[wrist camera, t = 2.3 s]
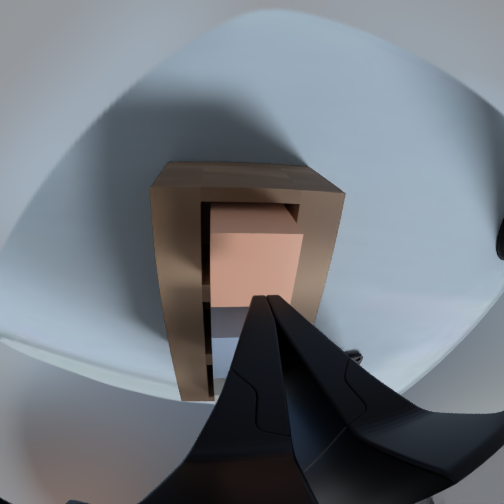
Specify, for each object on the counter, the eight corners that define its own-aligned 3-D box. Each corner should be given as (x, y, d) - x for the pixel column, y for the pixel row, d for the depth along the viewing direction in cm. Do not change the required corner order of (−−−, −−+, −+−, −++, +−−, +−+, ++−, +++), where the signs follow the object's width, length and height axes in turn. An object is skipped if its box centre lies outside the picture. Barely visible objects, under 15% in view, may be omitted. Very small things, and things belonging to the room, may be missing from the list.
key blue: (263, 326, 17) (274, 375, 14) (211, 328, 16) (213, 378, 13) (268, 285, 15) (283, 335, 12) (210, 286, 15) (211, 338, 12)
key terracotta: (272, 257, 14) (290, 304, 11) (210, 257, 14) (210, 307, 11) (279, 198, 13) (303, 234, 10) (210, 196, 12) (210, 233, 9)
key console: (277, 347, 23) (290, 395, 19) (183, 350, 22) (181, 400, 17) (309, 166, 16) (345, 193, 11) (168, 161, 14) (149, 187, 10)
